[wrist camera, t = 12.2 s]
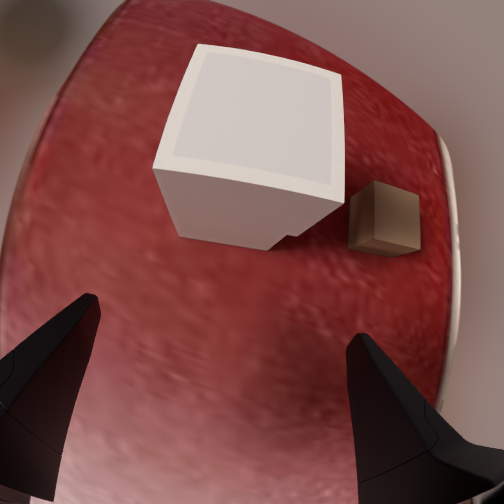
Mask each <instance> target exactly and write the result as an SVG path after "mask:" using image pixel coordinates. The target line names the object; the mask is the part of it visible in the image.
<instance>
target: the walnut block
mask: <svg viewBox="0 0 504 504" xmlns="http://www.w3.org/2000/svg"><path fill="white" fill-rule="evenodd" d="M348 249H351V250H356V251H361V252H366V253H371V254H376V255H381V256H385V257H390V258H392V257H395V256H399V255H403V254H407V253H410V252H414V251H418V250H420V210H419V195H416V194H414V193H411V192H408V191H405V190H402V189H400V188H397V187H394V186H391V185H388V184H385V183H382V182H379V181H376V180H374V181H372V182H371V183H370V184H368V185H367V186H365V187H364V188H363V189H361V190H360V191H359V192H357V193H356V194H355V195H353V196H352V197H350V217H349V237H348Z"/></svg>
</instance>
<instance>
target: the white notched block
mask: <svg viewBox="0 0 504 504" xmlns="http://www.w3.org/2000/svg"><path fill="white" fill-rule="evenodd" d="M153 171H154V174H155V176H156V179H157V182H158V184H159V187H160V190H161V192H162V195H163V198H164V200H165V203H166V205H167V208H168V210H169V213H170V216H171V218H172V221H173V223H174V225H175V228H176V230H177V233H178V235H179V237H185V238H191V239H197V240H204V241H210V242H216V243H222V244H228V245H235V246H241V247H247V248H253V249H259V250H265V251H267V250H269V249H270V248H271V247H272V246H274V245H275V244H276V243H277V242H279V241H280V240H281V239H282V238H284V237H285V236H286V235H291V236H296V237H297V236H298V235H300V234H301V233H303V232H304V231H306V230H307V229H308V228H310V227H311V226H313V225H314V224H316V223H317V222H318V221H320V220H321V219H323V218H324V217H325V216H327V215H328V214H330V213H331V212H333V211H334V210H335V209H337V208H338V207H340V206H341V205H342V204H344V193H345V144H344V114H343V96H342V82H341V75H340V74H337V73H334V72H331V71H328V70H325V69H321V68H318V67H315V66H311V65H308V64H304V63H301V62H297V61H293V60H289V59H285V58H281V57H276V56H272V55H267V54H263V53H257V52H252V51H247V50H241V49H235V48H228V47H220V46H212V45H203V44H198V45H197V47H196V50H195V52H194V54H193V56H192V59H191V61H190V63H189V66H188V68H187V70H186V73H185V75H184V78H183V80H182V83H181V85H180V88H179V90H178V93H177V96H176V98H175V101H174V104H173V106H172V109H171V112H170V115H169V118H168V120H167V123H166V126H165V129H164V132H163V135H162V138H161V142H160V145H159V148H158V151H157V154H156V158H155V161H154V165H153Z"/></svg>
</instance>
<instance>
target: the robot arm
mask: <svg viewBox="0 0 504 504" xmlns="http://www.w3.org/2000/svg"><path fill="white" fill-rule="evenodd" d="M100 317H101V311H100V306H99V301H98V297H97V296H96V295H94V294H90V293H85V294H83V295H82V296H80V297H79V298H78V299H76V300H75V301H74V302H72V303H71V304H70V305H68V306H67V307H66V308H64V309H63V310H62V311H60V312H59V313H58V314H56V315H55V316H54V317H53V318H51V319H50V320H49V321H47V322H46V323H45V324H44V325H42V326H41V327H40V328H39V329H37V330H36V331H35V332H34V333H32V334H31V335H30V336H29V337H27V338H26V339H25V340H24V341H22V342H21V343H20V344H19V345H18V346H16V347H15V348H14V350H12V351H10V352H9V353H8V354H7V355H6V356H4V357H3V358H2V359H1V360H0V504H30V500H31V496H33V497H36V498H40V499H43V500H47V501H51V502H53V501H54V496H55V489H56V483H57V478H58V472H59V467H60V462H61V457H62V456H61V455H62V452H63V448H64V443H65V439H66V435H67V431H68V427H69V423H70V420H71V416H72V413H73V409H74V406H75V402H76V399H77V396H78V392H79V389H80V386H81V383H82V380H83V377H84V374H85V371H86V368H87V365H88V362H89V359H90V356H91V352H92V348H93V344H94V340H95V336H96V332H97V329H98V325H99V321H100ZM346 364H347V386H348V395H349V403H350V410H351V418H352V427H353V436H354V445H355V456H356V467H357V481H358V500H359V504H504V450H502V449H496V448H489V447H484V446H479V445H475V444H472V443H470V442H468V441H466V440H465V439H464V438H463V437H462V436H461V435H460V434H459V433H458V432H456V431H455V430H454V428H452V427H451V426H450V425H449V424H448V423H447V422H446V421H445V420H444V419H443V418H442V417H441V415H440V414H439V413H438V412H437V411H436V410H435V409H434V408H433V407H432V406H431V404H430V403H429V402H428V401H427V400H426V399H425V398H424V396H423V395H422V394H421V393H420V392H419V391H418V390H417V388H416V387H415V386H414V385H413V384H412V383H411V382H410V380H409V379H408V378H407V377H406V376H405V375H404V374H403V372H402V371H401V370H400V369H399V368H398V367H397V366H396V365H395V363H394V362H393V361H392V360H391V359H390V358H389V357H388V356H387V355H386V353H385V352H384V351H383V350H382V349H381V348H380V347H379V346H378V345H377V344H376V342H375V341H374V340H373V339H372V338H371V337H370V336H369V335H368V334H366V333H357V334H356V335H355V336H354V338H353V339H352V340H351V342H350V343H349V345H348V346H347V349H346Z"/></svg>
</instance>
